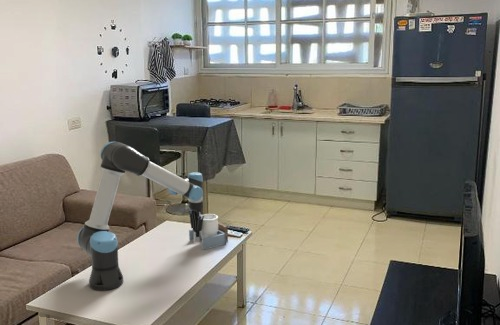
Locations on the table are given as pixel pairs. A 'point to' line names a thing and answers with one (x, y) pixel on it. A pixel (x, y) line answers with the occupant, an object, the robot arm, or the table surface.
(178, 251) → the table surface
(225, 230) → the block
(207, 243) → the grey shallow box
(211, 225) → the jar
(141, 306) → the table surface
